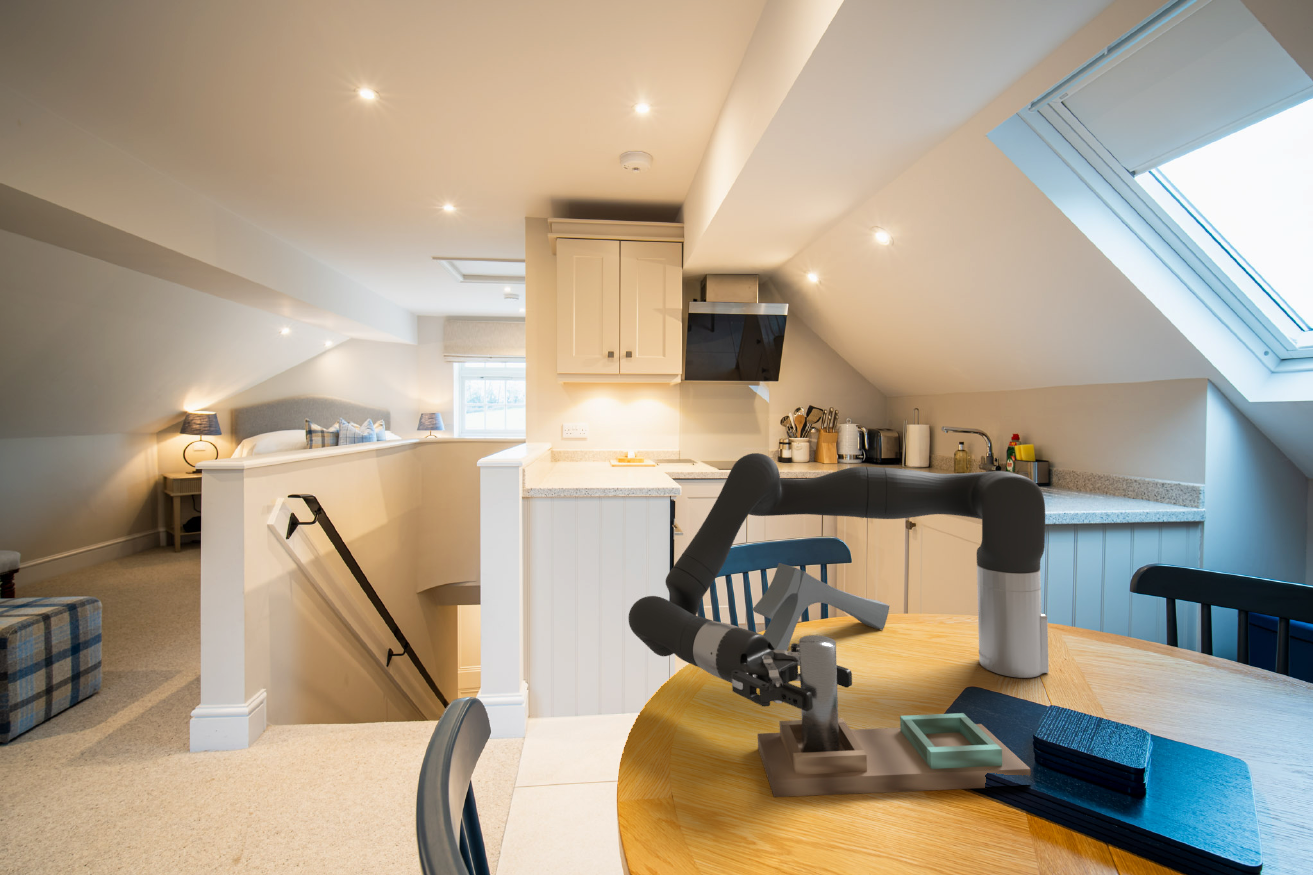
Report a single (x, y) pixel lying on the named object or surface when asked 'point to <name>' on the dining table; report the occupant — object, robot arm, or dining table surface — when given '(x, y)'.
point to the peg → (819, 693)
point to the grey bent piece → (802, 590)
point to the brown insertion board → (888, 758)
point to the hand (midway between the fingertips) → (831, 690)
